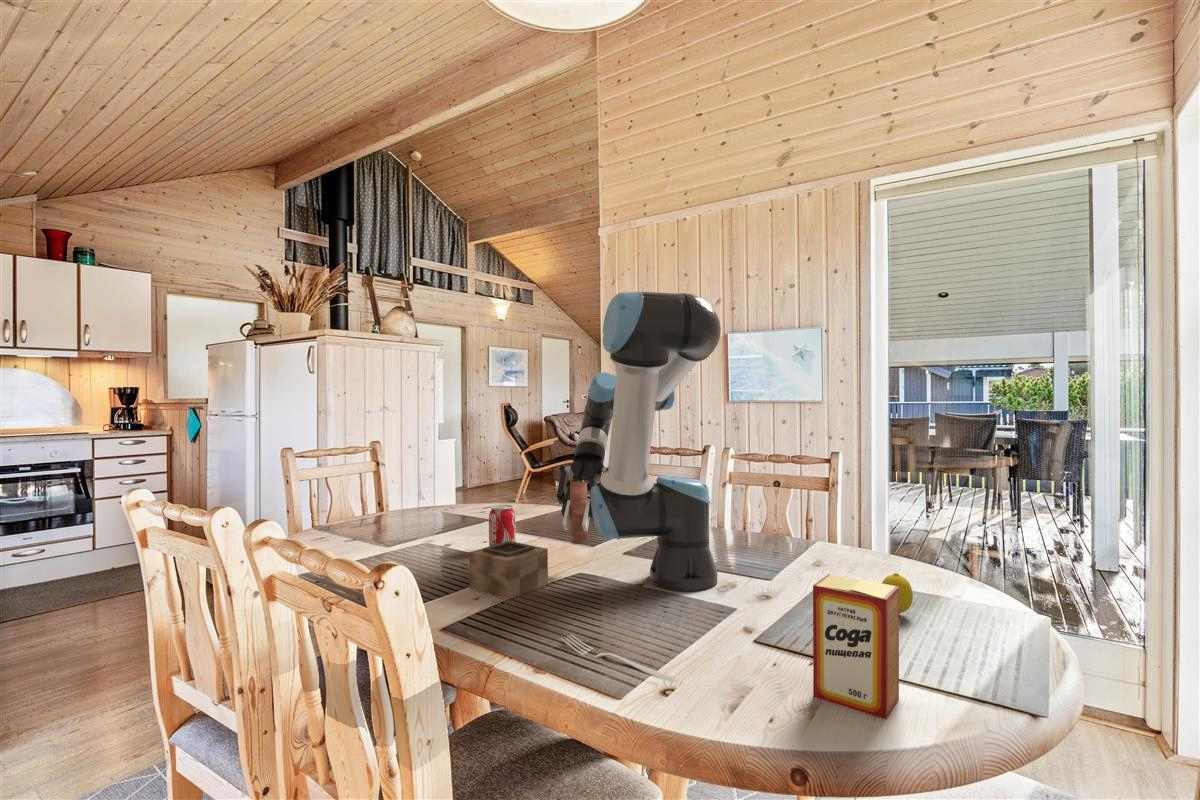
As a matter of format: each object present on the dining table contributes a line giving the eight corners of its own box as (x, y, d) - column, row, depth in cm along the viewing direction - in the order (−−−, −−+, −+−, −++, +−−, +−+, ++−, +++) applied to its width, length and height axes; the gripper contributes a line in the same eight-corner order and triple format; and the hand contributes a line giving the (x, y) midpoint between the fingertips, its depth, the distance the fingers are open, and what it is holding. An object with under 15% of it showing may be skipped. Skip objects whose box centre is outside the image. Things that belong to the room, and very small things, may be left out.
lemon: (910, 611, 116) (910, 570, 116) (914, 622, 111) (914, 578, 111) (878, 608, 118) (878, 567, 118) (881, 618, 113) (881, 576, 113)
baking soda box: (813, 696, 84) (813, 582, 84) (829, 679, 89) (828, 571, 89) (886, 719, 78) (886, 596, 78) (898, 699, 83) (898, 584, 83)
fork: (684, 692, 87) (684, 680, 87) (558, 649, 102) (558, 638, 102) (695, 684, 89) (695, 672, 89) (571, 643, 104) (571, 632, 104)
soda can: (513, 554, 159) (512, 509, 159) (486, 554, 160) (486, 509, 159) (517, 547, 166) (517, 504, 166) (491, 547, 167) (491, 504, 166)
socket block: (547, 584, 134) (547, 545, 134) (508, 599, 125) (508, 558, 125) (509, 574, 142) (509, 538, 142) (470, 588, 132) (469, 549, 132)
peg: (591, 541, 142) (590, 482, 142) (580, 545, 139) (579, 484, 139) (578, 539, 145) (577, 481, 145) (567, 542, 141) (566, 482, 142)
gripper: (625, 459, 155) (613, 537, 139) (561, 458, 159) (543, 535, 143) (621, 439, 150) (608, 519, 134) (555, 439, 154) (535, 516, 137)
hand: (574, 527), depth 138 cm, fingers closed on peg, 4 cm apart
